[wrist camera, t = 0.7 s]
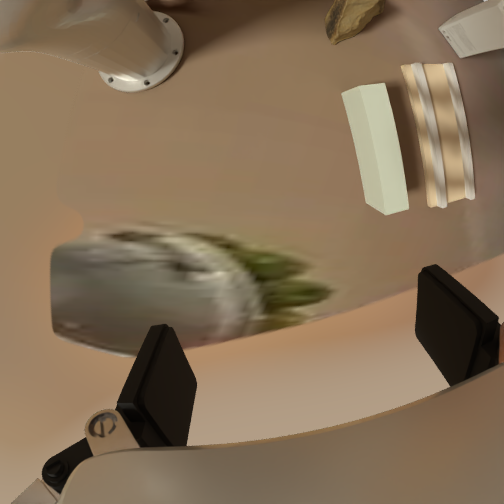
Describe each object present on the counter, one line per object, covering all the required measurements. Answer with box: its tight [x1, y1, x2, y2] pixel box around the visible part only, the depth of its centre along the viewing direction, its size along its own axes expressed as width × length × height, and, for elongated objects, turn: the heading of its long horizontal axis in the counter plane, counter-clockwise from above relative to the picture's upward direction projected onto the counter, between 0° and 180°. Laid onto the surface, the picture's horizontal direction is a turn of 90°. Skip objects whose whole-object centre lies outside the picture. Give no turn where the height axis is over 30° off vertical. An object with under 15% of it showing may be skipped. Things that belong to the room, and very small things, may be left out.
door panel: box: [341, 83, 409, 215], centre depth 35 cm, size 16×4×7 cm, turn 16°
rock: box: [325, 0, 385, 45], centre depth 28 cm, size 11×9×10 cm
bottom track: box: [401, 63, 475, 208], centre depth 36 cm, size 22×10×2 cm, turn 16°
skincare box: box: [438, 0, 504, 58], centre depth 23 cm, size 8×7×16 cm
